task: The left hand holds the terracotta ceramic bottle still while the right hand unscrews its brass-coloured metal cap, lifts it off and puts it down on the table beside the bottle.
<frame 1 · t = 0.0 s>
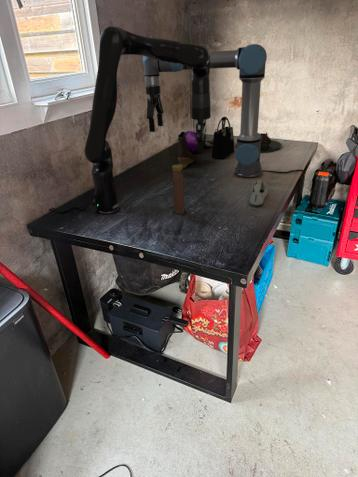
left hand: (201, 147, 134), 29 cm above the table, tool pointing down, fingers open, 8 cm apart
right hand: (156, 128, 177), 28 cm above the table, tool pointing down, fingers open, 13 cm apart
ballet flat: (258, 197, 160), on the table
cap: (177, 166, 140), point 21 cm above the table, screwed on, not yet turned
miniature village: (256, 146, 240), on the table
decorative orb: (190, 153, 234), on the table
bottle: (179, 211, 151), on the table
handbag: (223, 155, 225), on the table
boot: (186, 163, 214), on the table
pair of gloves: (209, 144, 253), on the table
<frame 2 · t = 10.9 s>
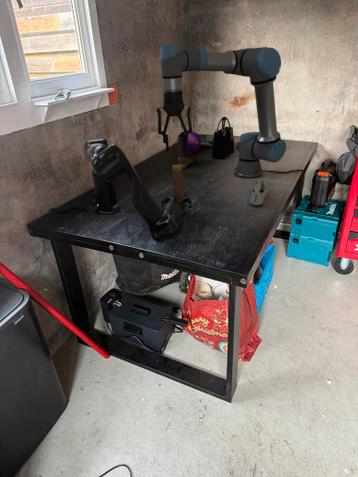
left hand: (179, 195, 150), 7 cm above the table, tool horizontal, fingers closed on bottle, 4 cm apart
right hand: (176, 150, 137), 28 cm above the table, tool pointing down, fingers open, 7 cm apart
bottle: (179, 211, 151), on the table, touching left hand
everything else where it was.
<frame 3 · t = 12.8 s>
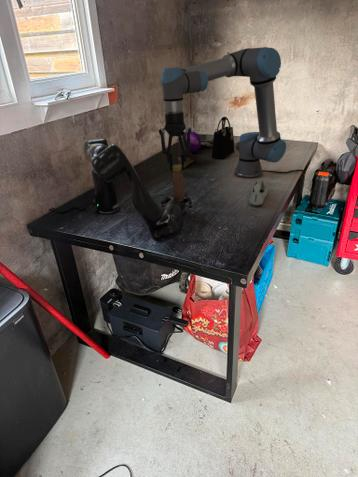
left hand: (179, 195, 150), 7 cm above the table, tool horizontal, fingers closed on bottle, 4 cm apart
right hand: (177, 169, 141), 20 cm above the table, tool pointing down, fingers closed on cap, 4 cm apart
cap: (177, 166, 140), point 21 cm above the table, screwed on, not yet turned, touching right hand
bottle: (179, 211, 151), on the table, touching left hand
everything else where it was.
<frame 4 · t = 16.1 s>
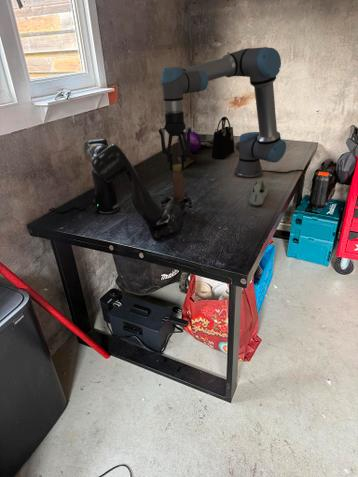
left hand: (179, 195, 150), 7 cm above the table, tool horizontal, fingers closed on bottle, 4 cm apart
right hand: (177, 169, 141), 20 cm above the table, tool pointing down, fingers closed on cap, 4 cm apart
cap: (177, 166, 140), point 21 cm above the table, turned 109° so far, risen 0.1 cm, still on its thread, touching right hand
bottle: (179, 211, 151), on the table, touching left hand
everything else where it was.
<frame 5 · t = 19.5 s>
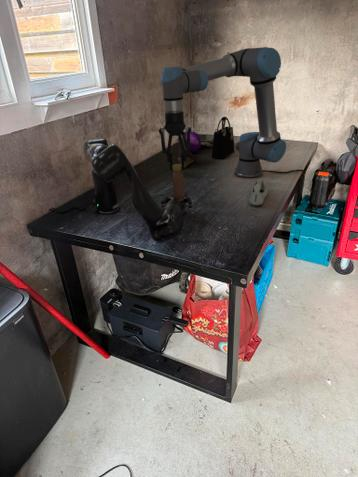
left hand: (179, 195, 150), 7 cm above the table, tool horizontal, fingers closed on bottle, 4 cm apart
right hand: (177, 168, 141), 20 cm above the table, tool pointing down, fingers closed on cap, 4 cm apart
cap: (177, 166, 140), point 22 cm above the table, turned 218° so far, risen 0.2 cm, still on its thread, touching right hand
bottle: (179, 211, 151), on the table, touching left hand
everything else where it was.
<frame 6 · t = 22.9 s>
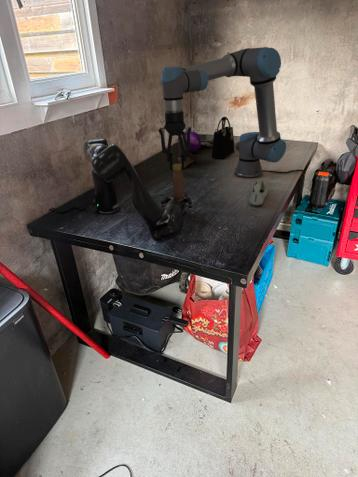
left hand: (179, 195, 150), 7 cm above the table, tool horizontal, fingers closed on bottle, 4 cm apart
right hand: (177, 168, 141), 20 cm above the table, tool pointing down, fingers closed on cap, 4 cm apart
cap: (177, 165, 140), point 22 cm above the table, turned 327° so far, risen 0.3 cm, still on its thread, touching right hand
bottle: (179, 211, 151), on the table, touching left hand
everything else where it was.
when the right hand's fingers open (1 cm above the table, at t = 30.7 s): cap drops 1 cm, point 1 cm above the table.
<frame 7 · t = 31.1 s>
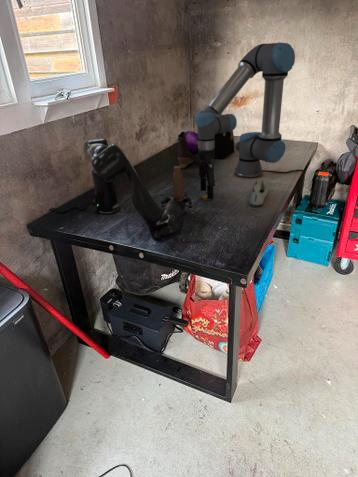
left hand: (179, 195, 150), 7 cm above the table, tool horizontal, fingers closed on bottle, 4 cm apart
right hand: (206, 194, 161), 2 cm above the table, tool pointing down, fingers open, 10 cm apart
cap: (206, 196, 161), point 1 cm above the table, off its thread
bottle: (179, 211, 151), on the table, touching left hand
everything else where it was.
when the left hand's fingers open (7 cm above the table, at t = 32.0 s): bottle stays where it is, on the table.
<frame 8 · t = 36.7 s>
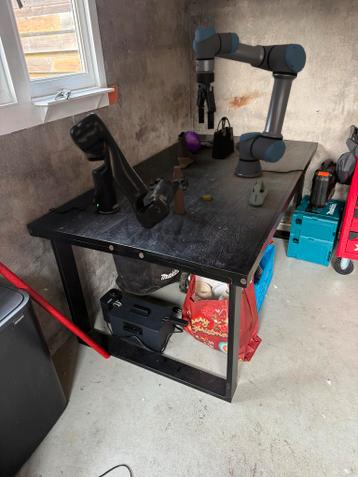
left hand: (172, 178, 131), 20 cm above the table, tool horizontal, fingers open, 8 cm apart
right hand: (205, 126, 145), 35 cm above the table, tool pointing down, fingers open, 13 cm apart
bottle: (179, 211, 151), on the table
everything else where it was.
at the end: cap came off its thread; cap point 1.2 cm above the table; the left hand is holding nothing; the right hand is holding nothing; bottle tilted 0°; bottle moved 0.0 cm from its start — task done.
